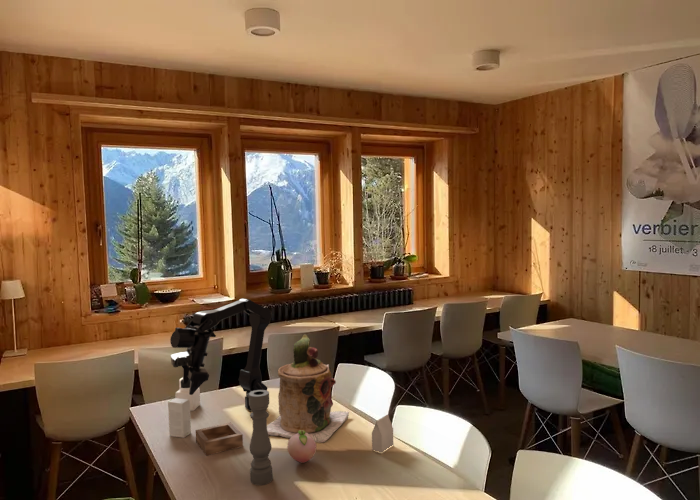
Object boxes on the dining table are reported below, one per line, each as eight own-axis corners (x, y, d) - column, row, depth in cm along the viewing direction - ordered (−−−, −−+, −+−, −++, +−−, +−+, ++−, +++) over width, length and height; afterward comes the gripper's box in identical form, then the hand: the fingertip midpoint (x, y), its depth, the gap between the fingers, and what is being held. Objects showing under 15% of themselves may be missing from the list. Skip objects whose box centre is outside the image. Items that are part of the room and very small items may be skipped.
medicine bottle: (200, 404, 215) (199, 374, 214) (193, 411, 208) (192, 380, 207) (183, 404, 216) (182, 374, 215) (175, 410, 208) (174, 380, 208)
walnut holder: (231, 433, 186) (230, 422, 185) (242, 446, 175) (242, 434, 175) (195, 441, 179) (195, 430, 179) (206, 455, 169) (205, 443, 169)
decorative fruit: (284, 458, 166) (283, 427, 165) (310, 454, 169) (309, 423, 168) (292, 472, 157) (291, 438, 156) (319, 467, 160) (318, 434, 159)
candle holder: (251, 474, 156) (248, 390, 154) (273, 473, 156) (270, 389, 155) (249, 485, 150) (246, 397, 148) (271, 484, 150) (269, 396, 148)
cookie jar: (259, 435, 184) (256, 342, 181) (290, 410, 207) (287, 327, 205) (327, 444, 176) (324, 347, 173) (351, 417, 199) (349, 331, 197)
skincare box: (191, 433, 187) (190, 399, 186) (183, 438, 183) (182, 403, 182) (176, 431, 189) (175, 397, 188) (168, 436, 185) (167, 401, 184)
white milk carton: (393, 446, 173) (392, 415, 173) (381, 454, 168) (381, 422, 167) (383, 443, 175) (383, 413, 175) (372, 451, 170) (371, 420, 169)
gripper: (170, 336, 195) (159, 376, 196) (182, 355, 179) (170, 399, 180) (200, 339, 201) (189, 379, 202) (214, 358, 185) (202, 401, 186)
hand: (187, 389), depth 192 cm, fingers open, 9 cm apart
